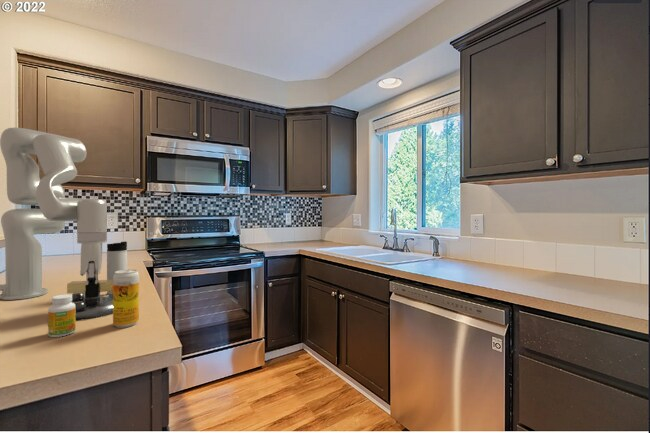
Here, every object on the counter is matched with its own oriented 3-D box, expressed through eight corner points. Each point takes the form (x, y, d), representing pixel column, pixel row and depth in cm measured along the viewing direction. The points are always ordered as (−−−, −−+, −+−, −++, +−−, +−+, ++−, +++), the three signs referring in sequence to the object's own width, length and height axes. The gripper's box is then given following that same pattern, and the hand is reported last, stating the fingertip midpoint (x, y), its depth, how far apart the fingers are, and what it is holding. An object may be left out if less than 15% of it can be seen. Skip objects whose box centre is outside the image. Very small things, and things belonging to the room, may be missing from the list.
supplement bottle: (52, 339, 76) (52, 300, 76) (44, 334, 79) (44, 297, 79) (79, 332, 81) (79, 295, 81) (70, 328, 84) (70, 292, 84)
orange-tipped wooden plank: (66, 306, 95) (66, 283, 94) (72, 302, 98) (72, 280, 98) (116, 303, 98) (116, 281, 98) (121, 299, 102) (121, 278, 102)
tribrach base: (38, 321, 88) (38, 305, 88) (78, 302, 106) (78, 289, 106) (108, 318, 91) (108, 303, 91) (135, 300, 109) (135, 288, 109)
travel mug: (117, 297, 112) (117, 242, 112) (102, 296, 114) (102, 241, 113) (131, 293, 118) (131, 240, 118) (117, 291, 120) (117, 240, 119)
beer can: (111, 329, 83) (111, 274, 83) (114, 322, 88) (114, 270, 88) (137, 326, 86) (137, 272, 85) (139, 319, 91) (139, 268, 91)
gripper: (79, 236, 103) (79, 290, 103) (74, 240, 89) (74, 304, 89) (107, 235, 107) (107, 288, 107) (106, 239, 93) (106, 300, 93)
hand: (92, 294), depth 98 cm, fingers closed on orange-tipped wooden plank, 4 cm apart
